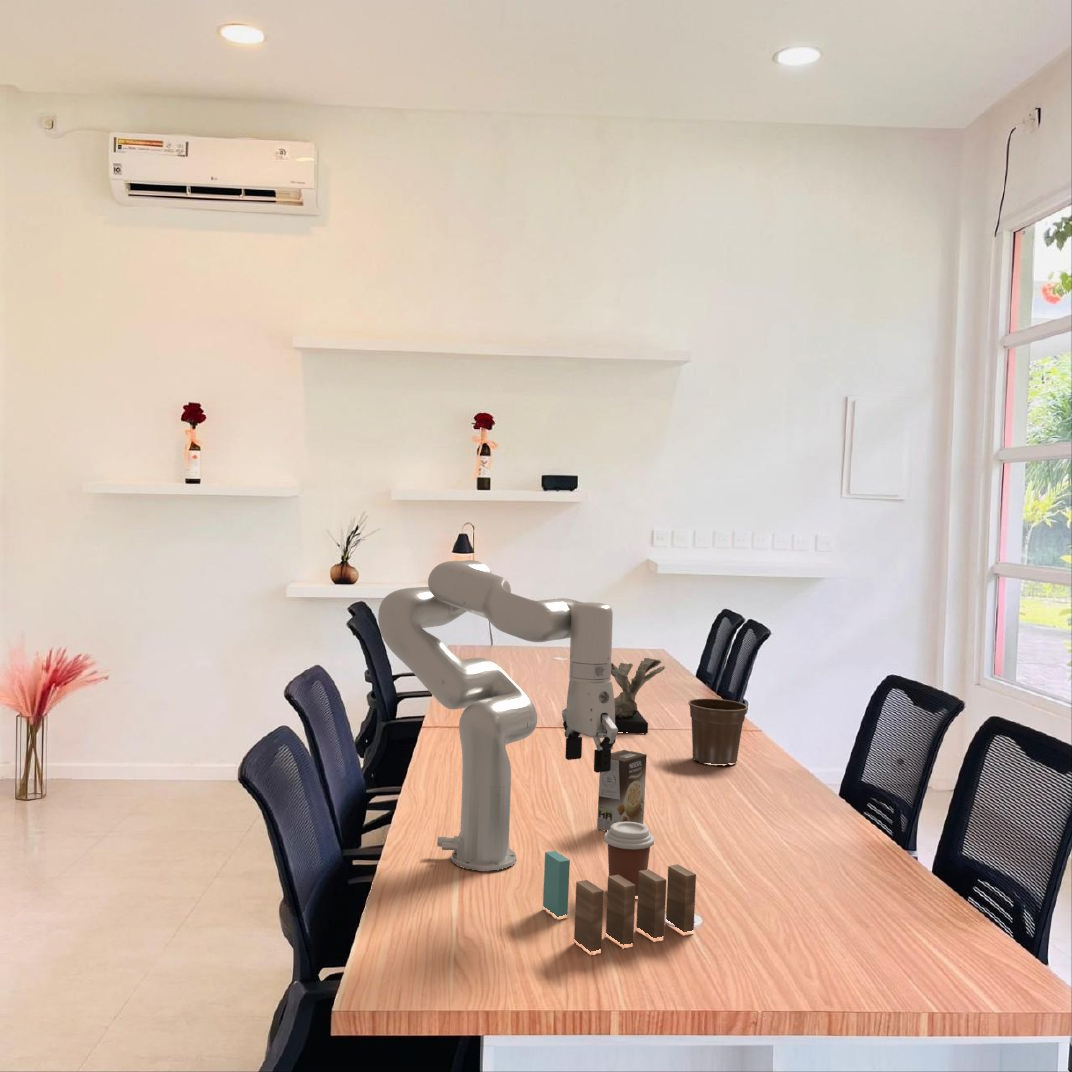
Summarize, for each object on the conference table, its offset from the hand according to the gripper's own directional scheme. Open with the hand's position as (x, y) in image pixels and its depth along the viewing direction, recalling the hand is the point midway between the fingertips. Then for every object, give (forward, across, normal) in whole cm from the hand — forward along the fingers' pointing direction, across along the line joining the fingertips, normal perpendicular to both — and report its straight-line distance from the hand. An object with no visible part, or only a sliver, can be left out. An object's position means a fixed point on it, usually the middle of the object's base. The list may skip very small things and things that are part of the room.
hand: (587, 765), depth 186 cm
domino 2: (+23, -21, +6) cm, 32 cm away
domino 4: (+23, -21, -6) cm, 32 cm away
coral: (+22, +112, -87) cm, 143 cm away
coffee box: (+23, +27, -26) cm, 44 cm away
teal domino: (+23, -7, +10) cm, 26 cm away
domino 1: (+23, -21, +12) cm, 34 cm away
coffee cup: (+23, -4, -6) cm, 24 cm away
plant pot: (+23, +65, -83) cm, 108 cm away
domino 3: (+23, -21, 0) cm, 31 cm away
